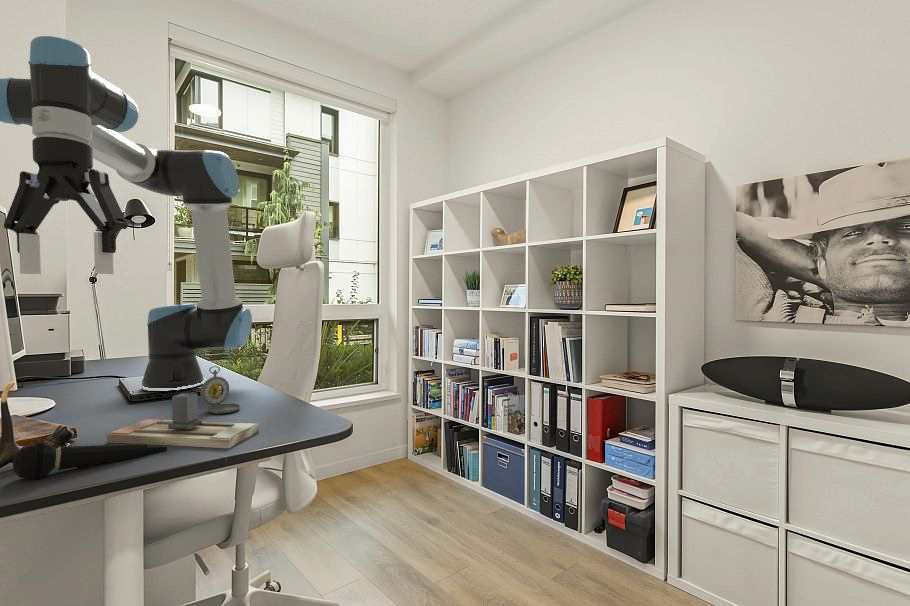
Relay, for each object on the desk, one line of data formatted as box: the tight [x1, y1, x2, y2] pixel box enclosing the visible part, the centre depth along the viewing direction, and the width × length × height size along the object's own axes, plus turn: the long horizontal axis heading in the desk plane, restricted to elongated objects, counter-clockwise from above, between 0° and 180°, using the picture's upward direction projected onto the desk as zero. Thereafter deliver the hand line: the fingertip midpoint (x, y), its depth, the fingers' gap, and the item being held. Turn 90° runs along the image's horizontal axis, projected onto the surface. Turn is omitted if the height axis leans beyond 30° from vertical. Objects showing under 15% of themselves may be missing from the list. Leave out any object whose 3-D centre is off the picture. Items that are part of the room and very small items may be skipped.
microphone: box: [11, 440, 168, 481], centre depth 78 cm, size 6×6×20 cm
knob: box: [168, 392, 203, 430], centre depth 92 cm, size 4×4×6 cm
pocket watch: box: [199, 365, 241, 415], centre depth 111 cm, size 8×8×10 cm
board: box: [106, 418, 260, 449], centre depth 92 cm, size 10×24×2 cm, turn 83°
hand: (67, 274), depth 78 cm, fingers open, 13 cm apart
